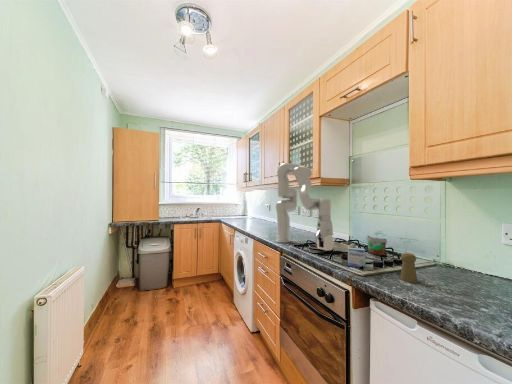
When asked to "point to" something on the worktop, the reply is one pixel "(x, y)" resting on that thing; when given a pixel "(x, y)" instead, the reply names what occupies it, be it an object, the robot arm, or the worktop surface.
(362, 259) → the medicine box
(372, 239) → the food container
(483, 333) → the worktop surface
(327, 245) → the cream carton
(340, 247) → the price rail
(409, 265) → the cork
